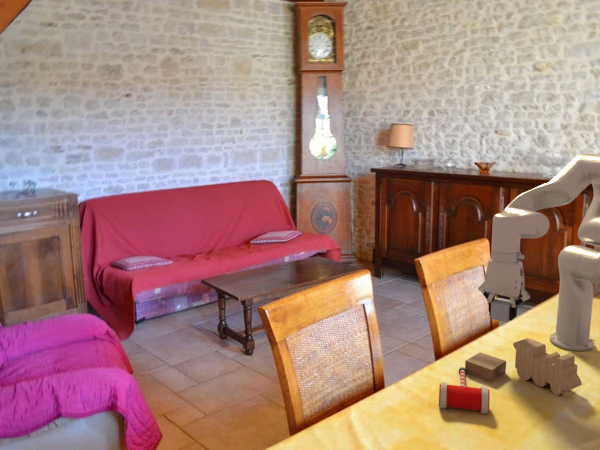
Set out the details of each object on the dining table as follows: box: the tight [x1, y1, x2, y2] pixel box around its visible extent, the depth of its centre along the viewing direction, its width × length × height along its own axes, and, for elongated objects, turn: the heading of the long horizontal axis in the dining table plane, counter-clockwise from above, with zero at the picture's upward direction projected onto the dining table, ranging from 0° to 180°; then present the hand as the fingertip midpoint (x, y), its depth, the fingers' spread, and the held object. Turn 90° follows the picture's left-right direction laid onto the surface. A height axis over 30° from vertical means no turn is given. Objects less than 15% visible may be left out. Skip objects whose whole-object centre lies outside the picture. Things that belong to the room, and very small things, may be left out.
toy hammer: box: [438, 367, 490, 415], centre depth 142 cm, size 23×12×6 cm, turn 164°
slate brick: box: [490, 297, 511, 323], centre depth 157 cm, size 5×5×5 cm
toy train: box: [512, 337, 582, 396], centre depth 145 cm, size 6×17×10 cm, turn 32°
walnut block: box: [464, 351, 507, 383], centre depth 152 cm, size 8×8×4 cm
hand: (502, 316), depth 157 cm, fingers closed on slate brick, 5 cm apart
